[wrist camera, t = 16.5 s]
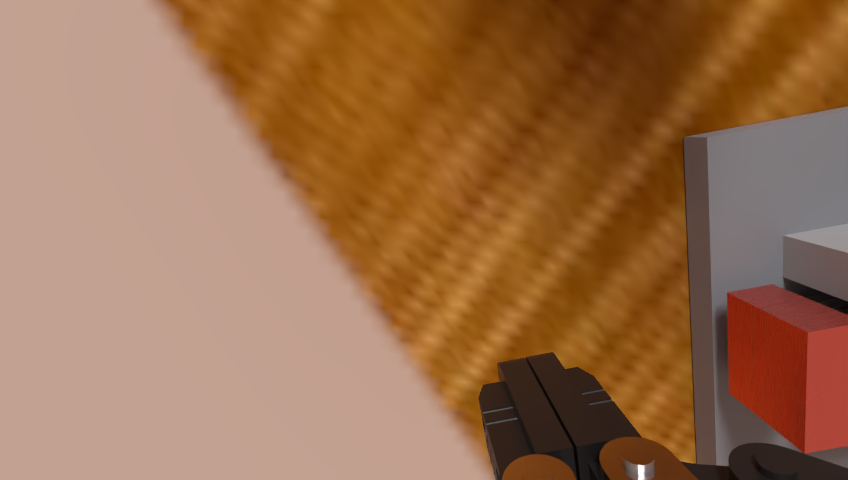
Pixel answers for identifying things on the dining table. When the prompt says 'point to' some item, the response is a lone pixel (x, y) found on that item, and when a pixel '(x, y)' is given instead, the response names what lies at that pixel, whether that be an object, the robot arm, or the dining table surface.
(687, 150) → the mount
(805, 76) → the dining table surface
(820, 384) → the lock pin
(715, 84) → the dining table surface
